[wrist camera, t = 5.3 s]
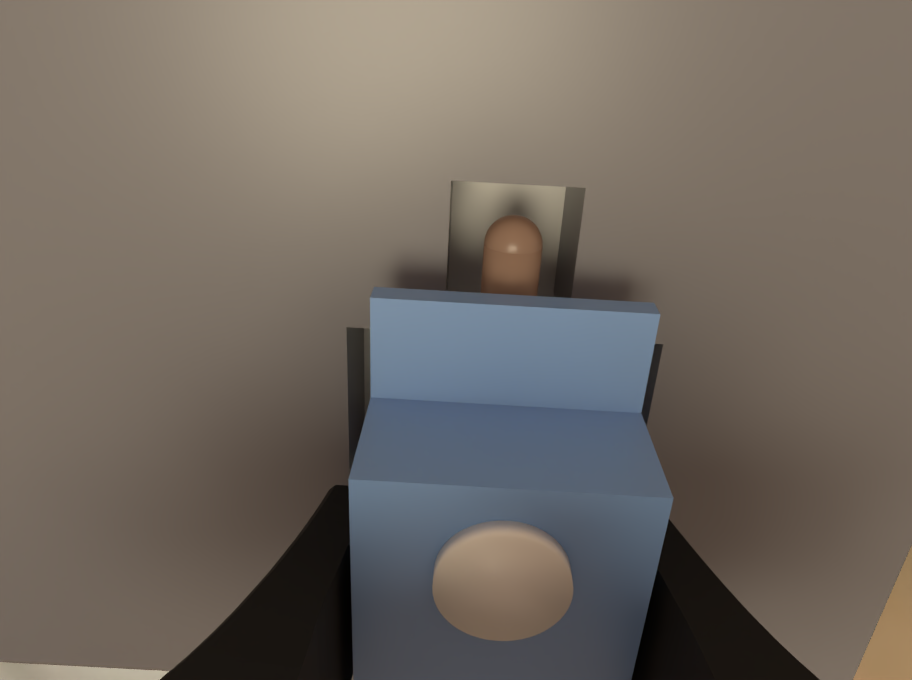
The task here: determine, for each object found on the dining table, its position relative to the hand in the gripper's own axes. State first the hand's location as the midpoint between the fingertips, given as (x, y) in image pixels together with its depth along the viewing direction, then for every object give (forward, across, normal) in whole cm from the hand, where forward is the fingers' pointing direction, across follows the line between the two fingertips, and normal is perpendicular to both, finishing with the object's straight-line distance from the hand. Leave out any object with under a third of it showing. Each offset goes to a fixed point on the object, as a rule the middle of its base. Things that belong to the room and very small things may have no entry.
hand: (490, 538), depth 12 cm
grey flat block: (+4, +3, -3) cm, 6 cm away
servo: (+2, 0, 0) cm, 2 cm away
